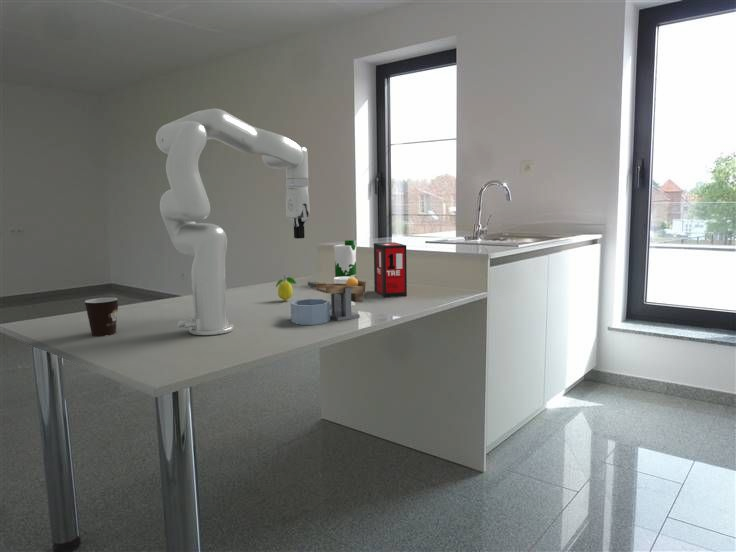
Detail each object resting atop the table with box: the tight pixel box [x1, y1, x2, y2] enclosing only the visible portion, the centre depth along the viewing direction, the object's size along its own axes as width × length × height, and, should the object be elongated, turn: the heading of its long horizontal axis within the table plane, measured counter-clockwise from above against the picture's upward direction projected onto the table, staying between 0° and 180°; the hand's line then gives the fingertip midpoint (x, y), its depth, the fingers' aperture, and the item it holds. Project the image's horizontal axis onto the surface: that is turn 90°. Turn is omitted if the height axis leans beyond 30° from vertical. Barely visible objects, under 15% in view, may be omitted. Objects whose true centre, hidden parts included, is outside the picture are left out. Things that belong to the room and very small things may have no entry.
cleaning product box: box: [373, 242, 408, 298], centre depth 224 cm, size 16×9×20 cm, turn 13°
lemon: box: [275, 275, 297, 302], centre depth 212 cm, size 7×6×10 cm
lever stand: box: [330, 288, 360, 322], centre depth 182 cm, size 8×10×10 cm
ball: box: [346, 277, 359, 286], centre depth 183 cm, size 4×4×4 cm
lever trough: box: [307, 279, 367, 303], centre depth 184 cm, size 14×14×7 cm
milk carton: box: [333, 239, 357, 279], centre depth 249 cm, size 9×9×20 cm
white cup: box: [333, 276, 356, 307], centre depth 202 cm, size 8×8×10 cm
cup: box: [290, 298, 331, 326], centre depth 176 cm, size 11×11×6 cm
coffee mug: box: [84, 297, 119, 337], centre depth 165 cm, size 12×9×10 cm
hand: (299, 238), depth 192 cm, fingers closed
